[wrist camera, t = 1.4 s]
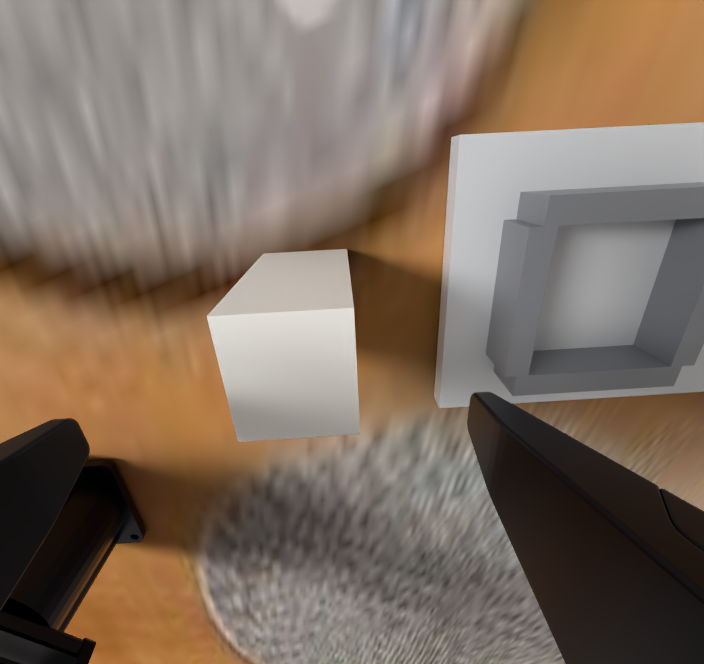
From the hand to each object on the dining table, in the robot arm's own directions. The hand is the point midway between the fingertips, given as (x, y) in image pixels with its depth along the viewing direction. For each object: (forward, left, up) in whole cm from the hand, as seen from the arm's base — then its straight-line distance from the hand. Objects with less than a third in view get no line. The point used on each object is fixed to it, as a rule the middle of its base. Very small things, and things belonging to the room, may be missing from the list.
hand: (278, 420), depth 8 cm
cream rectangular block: (0, 0, -9) cm, 9 cm away
